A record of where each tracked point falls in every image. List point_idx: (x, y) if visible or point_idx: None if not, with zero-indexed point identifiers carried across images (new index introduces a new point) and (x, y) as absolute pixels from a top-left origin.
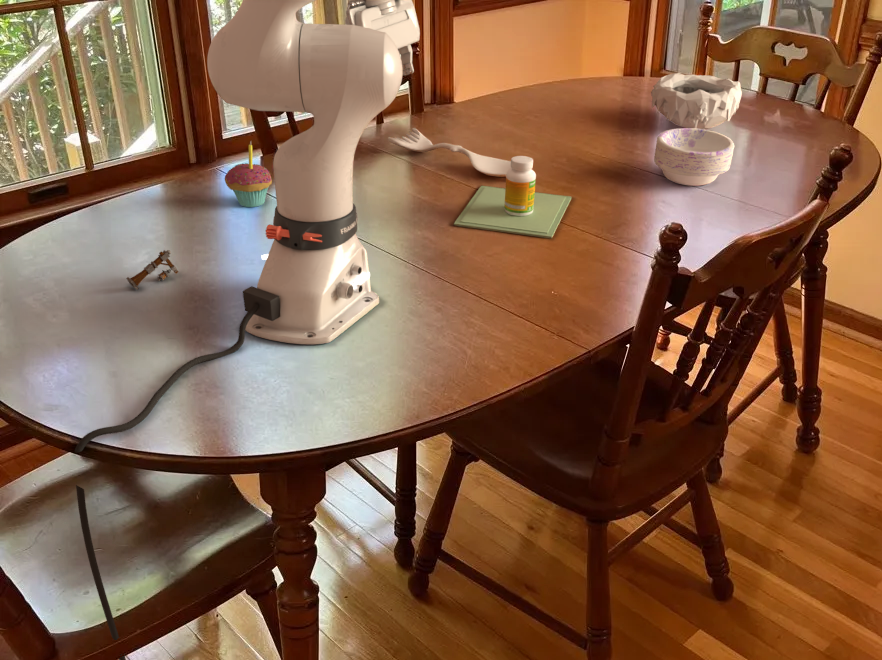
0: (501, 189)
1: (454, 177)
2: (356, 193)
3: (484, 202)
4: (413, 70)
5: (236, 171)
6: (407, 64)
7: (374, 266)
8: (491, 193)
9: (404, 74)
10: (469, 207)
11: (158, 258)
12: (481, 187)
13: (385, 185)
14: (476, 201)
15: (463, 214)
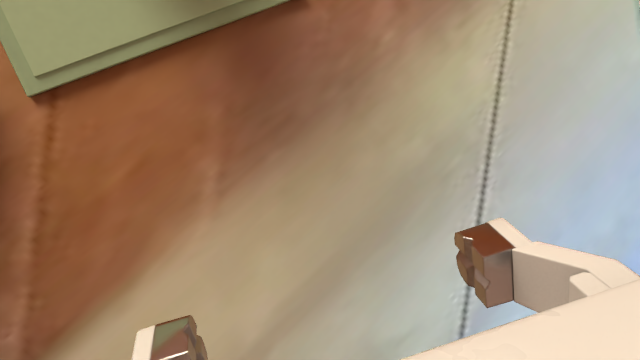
0: (15, 26)
1: (20, 207)
2: (304, 315)
3: (136, 8)
4: (145, 329)
5: None
6: (191, 355)
7: (570, 3)
8: (64, 31)
9: (203, 347)
10: (191, 24)
11: None
12: (41, 86)
13: (211, 303)
14: (146, 30)
15: (239, 9)
